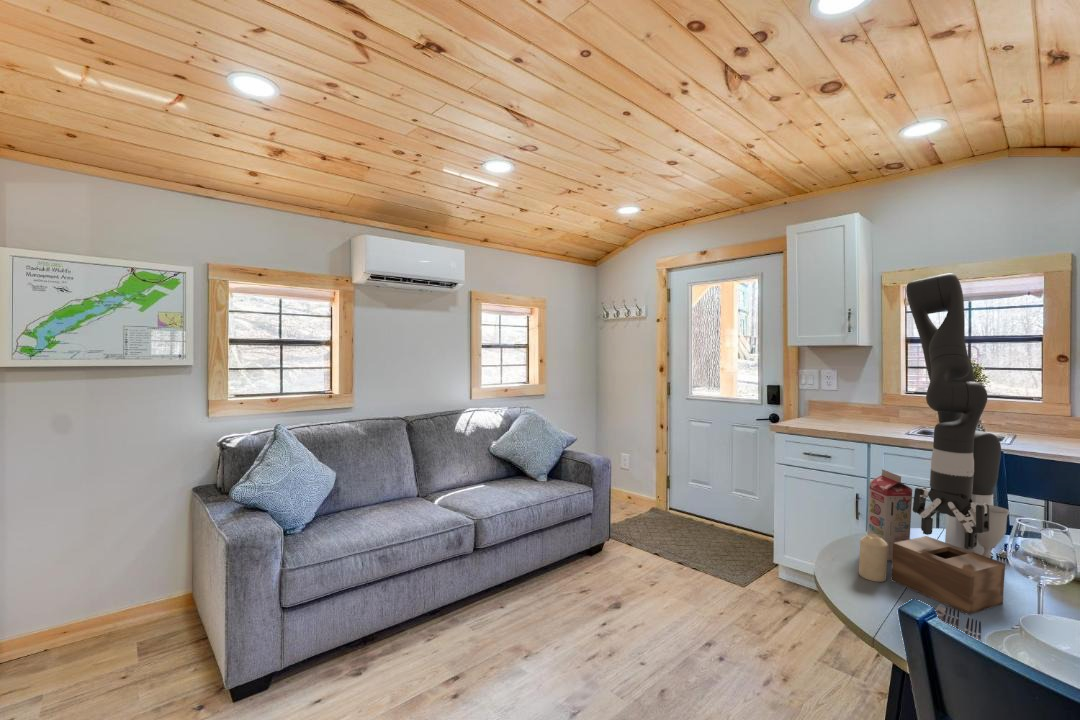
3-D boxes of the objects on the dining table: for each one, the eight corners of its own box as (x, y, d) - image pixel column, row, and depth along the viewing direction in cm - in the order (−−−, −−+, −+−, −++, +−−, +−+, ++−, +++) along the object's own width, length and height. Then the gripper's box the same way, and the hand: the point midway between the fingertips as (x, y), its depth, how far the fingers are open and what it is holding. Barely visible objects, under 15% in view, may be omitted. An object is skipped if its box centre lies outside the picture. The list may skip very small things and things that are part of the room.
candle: (890, 583, 121) (892, 541, 120) (864, 580, 122) (866, 539, 122) (880, 572, 126) (882, 532, 126) (855, 570, 128) (856, 530, 127)
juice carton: (890, 549, 140) (894, 469, 139) (908, 560, 133) (913, 476, 132) (866, 549, 140) (870, 469, 139) (883, 560, 133) (887, 476, 132)
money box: (924, 572, 127) (926, 536, 127) (1002, 604, 112) (1005, 563, 112) (891, 580, 123) (893, 542, 122) (968, 614, 108) (970, 572, 107)
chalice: (996, 580, 123) (1001, 505, 122) (1011, 593, 117) (1016, 515, 116) (959, 575, 126) (963, 502, 125) (972, 587, 119) (977, 511, 118)
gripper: (907, 463, 121) (904, 531, 122) (978, 480, 108) (973, 556, 109) (928, 461, 124) (925, 527, 125) (999, 476, 111) (995, 551, 112)
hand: (947, 541), depth 117 cm, fingers open, 8 cm apart
